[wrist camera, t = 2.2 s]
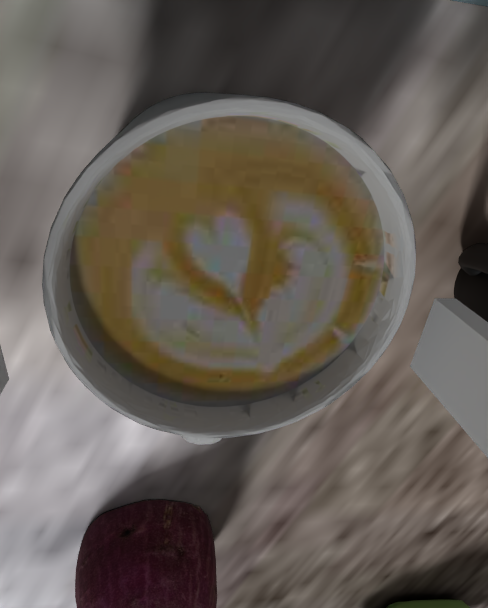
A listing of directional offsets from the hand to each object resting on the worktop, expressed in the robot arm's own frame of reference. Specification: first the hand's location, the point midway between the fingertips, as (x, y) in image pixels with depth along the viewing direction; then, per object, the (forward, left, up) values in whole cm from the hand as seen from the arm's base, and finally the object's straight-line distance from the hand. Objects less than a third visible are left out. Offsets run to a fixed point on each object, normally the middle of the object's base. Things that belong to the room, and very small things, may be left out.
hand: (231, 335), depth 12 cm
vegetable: (-3, -25, -9) cm, 27 cm away
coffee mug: (0, 0, -9) cm, 9 cm away
